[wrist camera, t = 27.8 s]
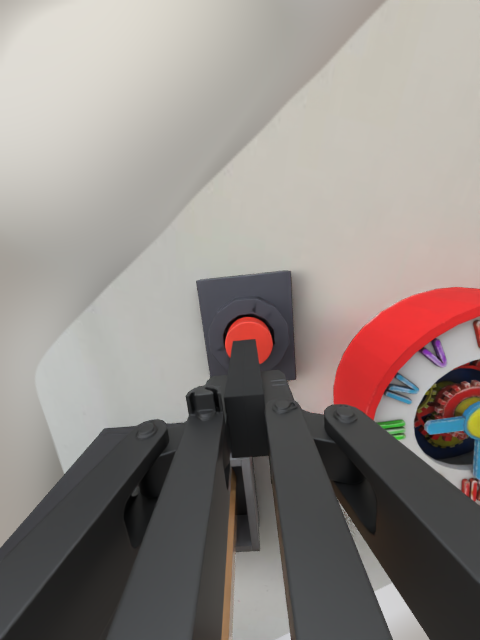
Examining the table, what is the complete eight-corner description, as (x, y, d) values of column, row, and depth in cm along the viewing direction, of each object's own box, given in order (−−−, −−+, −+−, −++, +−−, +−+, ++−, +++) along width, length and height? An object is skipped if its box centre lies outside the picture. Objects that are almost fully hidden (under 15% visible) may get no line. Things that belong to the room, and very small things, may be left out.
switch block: (292, 371, 23) (300, 390, 19) (214, 378, 23) (208, 397, 20) (287, 270, 20) (295, 271, 17) (199, 279, 21) (190, 282, 17)
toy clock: (683, 269, 14) (618, 515, 18) (555, 268, 19) (530, 456, 24) (352, 324, 15) (368, 539, 20) (324, 308, 21) (341, 478, 25)
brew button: (271, 356, 19) (274, 365, 17) (229, 359, 19) (228, 369, 17) (268, 314, 18) (271, 319, 16) (224, 318, 18) (222, 324, 16)
